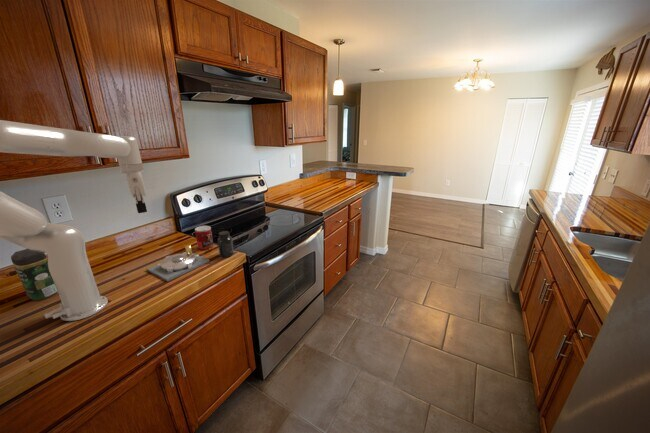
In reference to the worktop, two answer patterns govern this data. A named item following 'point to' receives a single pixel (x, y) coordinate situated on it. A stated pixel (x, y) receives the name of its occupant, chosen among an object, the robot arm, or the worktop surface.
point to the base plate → (170, 276)
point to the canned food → (204, 237)
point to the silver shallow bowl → (178, 261)
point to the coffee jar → (34, 273)
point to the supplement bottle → (225, 244)
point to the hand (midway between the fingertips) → (142, 212)
